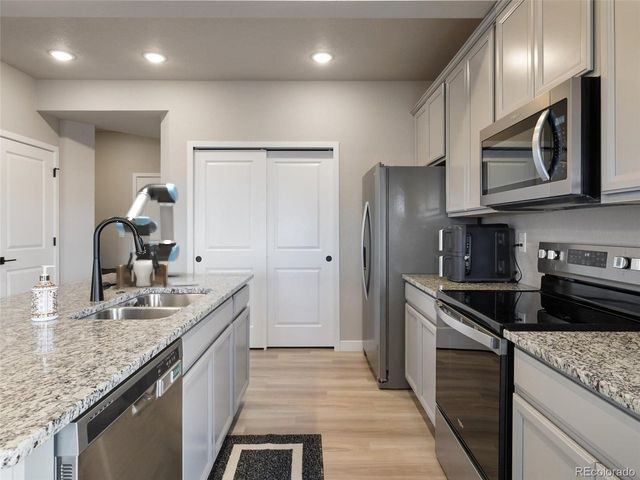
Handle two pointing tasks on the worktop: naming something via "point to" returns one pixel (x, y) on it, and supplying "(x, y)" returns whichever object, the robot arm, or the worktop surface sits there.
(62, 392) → the worktop surface
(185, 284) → the mat
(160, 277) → the crate
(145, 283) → the cup
